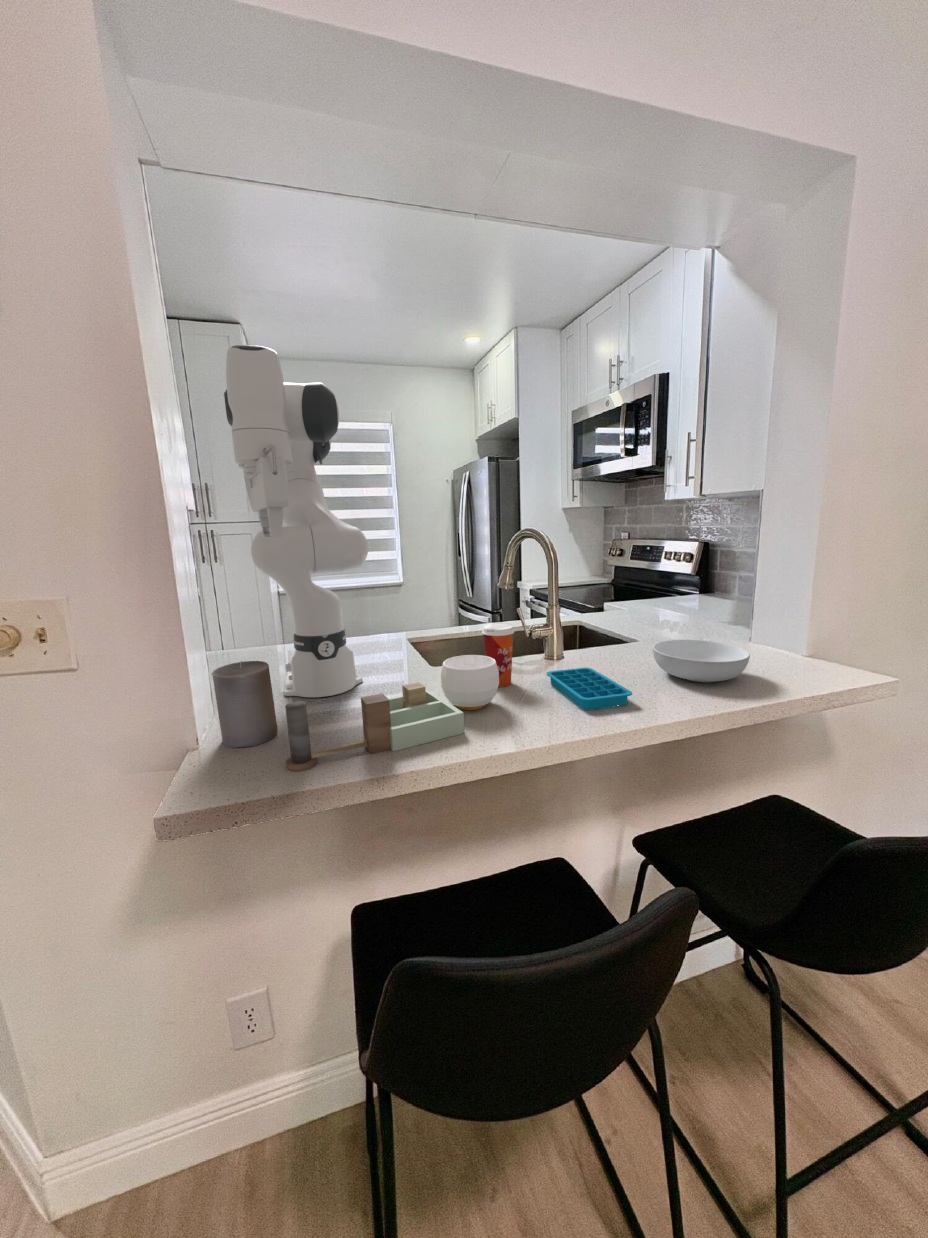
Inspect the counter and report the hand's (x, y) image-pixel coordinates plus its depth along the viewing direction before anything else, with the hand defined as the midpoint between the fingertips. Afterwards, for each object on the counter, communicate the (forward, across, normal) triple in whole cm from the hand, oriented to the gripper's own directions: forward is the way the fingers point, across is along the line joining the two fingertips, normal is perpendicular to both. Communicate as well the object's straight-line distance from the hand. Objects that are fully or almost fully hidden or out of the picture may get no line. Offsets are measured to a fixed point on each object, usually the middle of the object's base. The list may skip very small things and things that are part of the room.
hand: (272, 537), depth 84 cm
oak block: (+37, -2, -23) cm, 44 cm away
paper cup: (+37, +7, -49) cm, 62 cm away
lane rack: (+37, -6, -21) cm, 43 cm away
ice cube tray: (+38, -10, -61) cm, 72 cm away
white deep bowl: (+37, -2, -36) cm, 52 cm away
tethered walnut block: (+37, -10, -6) cm, 39 cm away
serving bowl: (+37, -16, -91) cm, 100 cm away
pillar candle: (+37, +7, +7) cm, 39 cm away
